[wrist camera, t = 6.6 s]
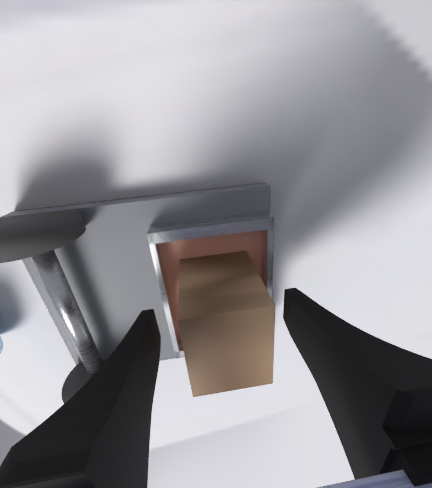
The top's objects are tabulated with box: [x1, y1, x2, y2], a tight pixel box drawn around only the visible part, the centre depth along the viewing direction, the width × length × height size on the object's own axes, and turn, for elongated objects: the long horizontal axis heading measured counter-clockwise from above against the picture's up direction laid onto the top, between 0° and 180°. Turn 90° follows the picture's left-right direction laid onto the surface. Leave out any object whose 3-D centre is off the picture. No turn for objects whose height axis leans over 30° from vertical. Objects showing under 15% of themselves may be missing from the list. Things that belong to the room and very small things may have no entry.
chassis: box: [0, 183, 273, 404], centre depth 14 cm, size 14×12×4 cm
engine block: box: [177, 251, 275, 397], centre depth 13 cm, size 4×5×5 cm
